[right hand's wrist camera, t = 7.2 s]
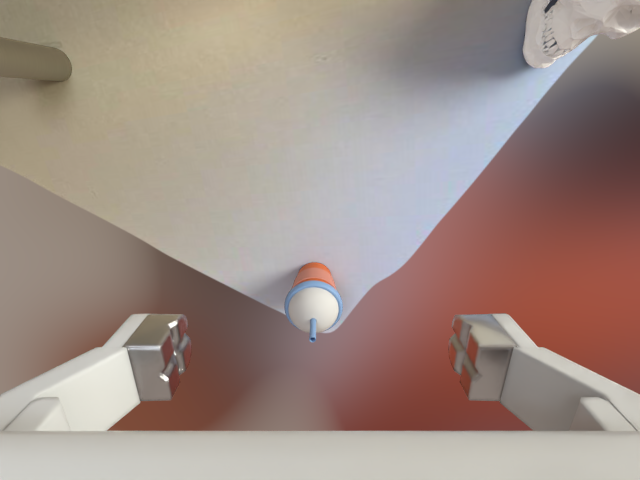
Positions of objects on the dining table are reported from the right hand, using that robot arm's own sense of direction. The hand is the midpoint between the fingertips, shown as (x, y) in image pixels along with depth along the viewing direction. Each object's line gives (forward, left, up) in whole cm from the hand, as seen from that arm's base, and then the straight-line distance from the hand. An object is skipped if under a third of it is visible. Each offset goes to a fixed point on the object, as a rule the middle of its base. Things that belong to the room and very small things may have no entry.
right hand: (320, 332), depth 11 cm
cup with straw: (+23, -1, -48) cm, 53 cm away
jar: (-12, -39, -48) cm, 63 cm away
